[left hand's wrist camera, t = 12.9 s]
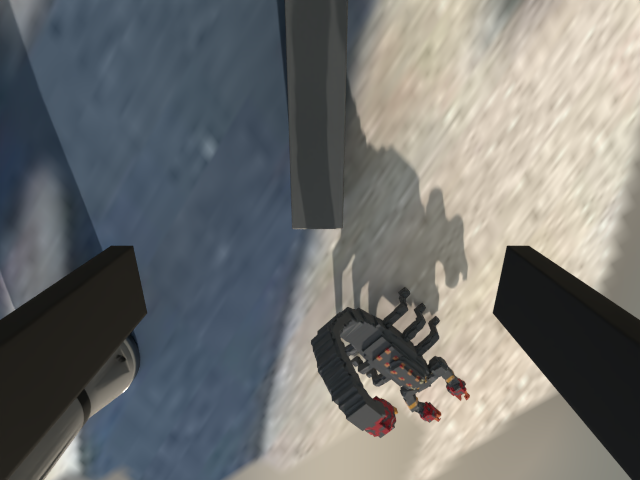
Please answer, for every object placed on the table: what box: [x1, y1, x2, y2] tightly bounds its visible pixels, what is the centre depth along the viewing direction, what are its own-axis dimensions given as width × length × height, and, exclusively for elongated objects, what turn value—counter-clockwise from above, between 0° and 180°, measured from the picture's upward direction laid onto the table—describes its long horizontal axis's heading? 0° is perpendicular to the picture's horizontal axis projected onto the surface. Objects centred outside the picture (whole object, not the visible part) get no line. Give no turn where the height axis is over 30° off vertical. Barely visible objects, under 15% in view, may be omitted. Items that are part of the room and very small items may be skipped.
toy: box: [311, 288, 470, 438], centre depth 40 cm, size 13×27×18 cm, turn 46°
